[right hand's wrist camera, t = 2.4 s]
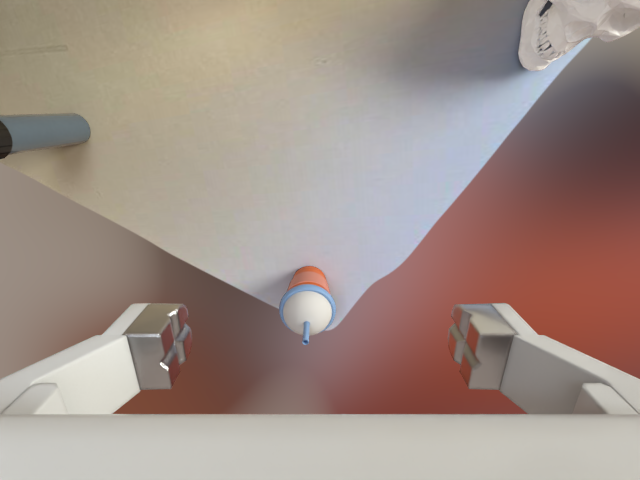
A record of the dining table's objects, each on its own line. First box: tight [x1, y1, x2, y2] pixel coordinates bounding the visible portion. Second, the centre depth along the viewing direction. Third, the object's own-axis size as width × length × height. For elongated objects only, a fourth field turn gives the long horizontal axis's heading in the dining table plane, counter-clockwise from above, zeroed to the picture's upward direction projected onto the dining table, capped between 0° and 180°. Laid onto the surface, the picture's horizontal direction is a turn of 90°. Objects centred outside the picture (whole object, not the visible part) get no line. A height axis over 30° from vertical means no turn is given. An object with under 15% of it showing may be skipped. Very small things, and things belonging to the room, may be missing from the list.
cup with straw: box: [279, 266, 336, 345], centre depth 55 cm, size 9×9×18 cm
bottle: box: [0, 113, 90, 155], centre depth 46 cm, size 5×5×17 cm
